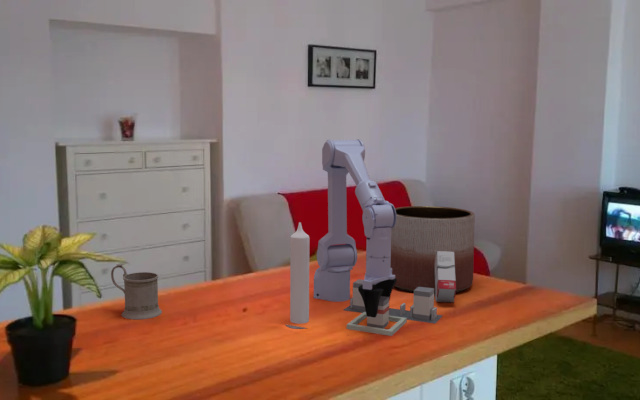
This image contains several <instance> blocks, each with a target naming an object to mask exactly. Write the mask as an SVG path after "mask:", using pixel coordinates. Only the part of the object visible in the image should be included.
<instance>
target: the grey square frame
mask: <svg viewBox="0 0 640 400" xmlns="http://www.w3.org/2000/svg"><path fill="white" fill-rule="evenodd" d="M365 319H367V314H366V312H363V313H359V315H358V316H356V317H355V318H353V319H352V320H351V321H349V322H348V323H346V330H351V331H357V332H364V333H371V334H378V335H383V336H389V337H392V336H394V334H395V333H397V332H398V331H399V330H400V329H401V328H402V327H403V326H404V325H405V324H406V323H407V322H408V320H407V318H403V317H396V316H389V322H393V323H394V324H393V325H392V326H390V328H389V329H388V328H387V329H386V328H384V329H382V328H376V327H369V326H367V325H361V324H360V323H361V322H363V321H364V320H365Z"/></svg>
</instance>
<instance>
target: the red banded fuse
mask: <svg viewBox="0 0 640 400" xmlns="http://www.w3.org/2000/svg"><path fill="white" fill-rule="evenodd" d="M389 308H390V300H389V297H385V296H381V297H380V300H379V304H378V312H377V316H376V317H368V316H367V318H366V326H369V327H376V328H382V329H386V327H388V325H389V324H390V321H389Z"/></svg>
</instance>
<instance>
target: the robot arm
mask: <svg viewBox="0 0 640 400" xmlns="http://www.w3.org/2000/svg"><path fill="white" fill-rule="evenodd" d="M365 156H366V147H365V143H363V141H362V140H361V139H327V140H326V141H325V142H324V144H323V146H322V149H321V157H322V158H321V164H322V170H323V171H325V172H327V203H328V204H327V205H328V206H327V210H328V211H327V215H328V216H327V217H328V220H327V221H328V223H327V224H328V225H327V226H328V227H327V229H328V232H327V233H326V234H325V235H324V236H323V237H321V238H320V239H319V240H318V245H317V251H316V261H317V265H318V266H319V267H318V268H317V269H316V270H315V272H314V275H313V299H317V300H323V301H328V302H333V303H335V302H336V303H340V302H347V301H350V299H351V271H352V270H353V269H354V267H355V266H356V264H357V262H358V251H357V247H356V246H357V245H356V240H355V239H354V238H353V237H352V236H351V235H349V234H348V231H347V230H348V225H347V224H348V222H347V221H348V218H347V216H348V214H347V210H348V208H347V205H348V204H347V202H348V201H347V200H348V199H347V176H348V174H349V175H350V177H351V179H352V180H353V182H354V183H355V185H356V187H355V190H354V194H355V196H356V198H357V200H358V203H359V205H360V207H361V210H362V215H361V216H362V224H363V228H364V229H363V231H364V236H365V237H366V248H365V249H366V250H365V254H366V255H365V257H366V258H365V273H364V279H362V280H363V285H360V286H359V287H358V291H359V293H360V294H361V296H362V299H363V302H364V305H365V310H366V314H367V316H368V317H376V316H377V312H378V304H379V300H380V297H381V296H385V297H389V301H390V299H391V295H392V291H393V289H394V288H395V286H394V285H395V283H396V281H397V279H396V278H395V275H392V268H391V228H393V227H394V226H395V224H396V219H397V216H396V210H395V208H396V207H395V206H394V204H393V203H391V202H389V201H388V200H385V197H384V196H383V193H382V191H381V189H380V188H379V185H378V183H377V182H376V181H375V180H371V178H370V175H369V172H368V169H367V167H366V164H365V158H366V157H365Z"/></svg>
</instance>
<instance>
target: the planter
mask: <svg viewBox="0 0 640 400" xmlns="http://www.w3.org/2000/svg"><path fill="white" fill-rule="evenodd" d="M394 208H395V210H396V216H397V219H396V224H395V226H394V227H393V228H391V268H392V275H395V278H396V279H397V281H396V283H395V285H394V288H397V289H399V290H402V291H406V292H409V293H410V292H411V293H414V290H415V289H416V288H417V287H426V288H434V295H435V268H434V266H435V265H434V264H435V258H436V252H437V251H446V252H454V258H455V278H456V293H459V292H462V291H464V290H467V289H468V288H470V287H472V285H473V280H474V258H475V257H474V254H475V253H474V252H475V251H474V250H475V249H474V248H475V223H476V222H475V221H476V219H475V217H476V216H475V213H474V212H472V211H470V210H468V209H463V208H457V207H448V206H431V205H428V206H427V205H416V206H414V205H412V206H410V205H409V206H400V207H394Z"/></svg>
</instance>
